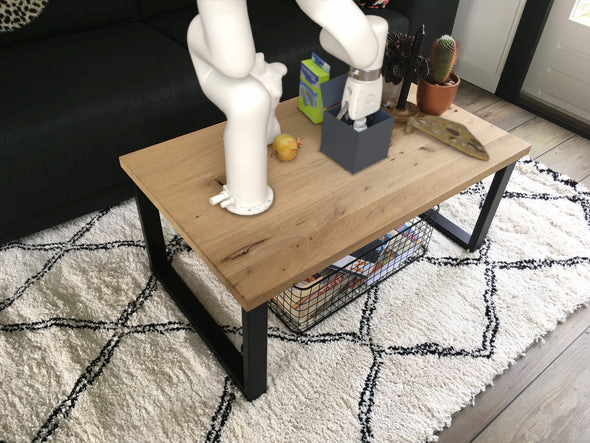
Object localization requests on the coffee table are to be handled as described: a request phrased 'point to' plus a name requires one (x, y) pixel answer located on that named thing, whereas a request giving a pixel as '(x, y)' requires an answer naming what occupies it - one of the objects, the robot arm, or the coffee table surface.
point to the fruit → (285, 147)
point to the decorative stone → (449, 134)
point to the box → (312, 87)
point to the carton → (356, 140)
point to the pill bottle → (360, 124)
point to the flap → (333, 90)
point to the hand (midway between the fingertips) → (355, 134)
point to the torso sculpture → (270, 89)
